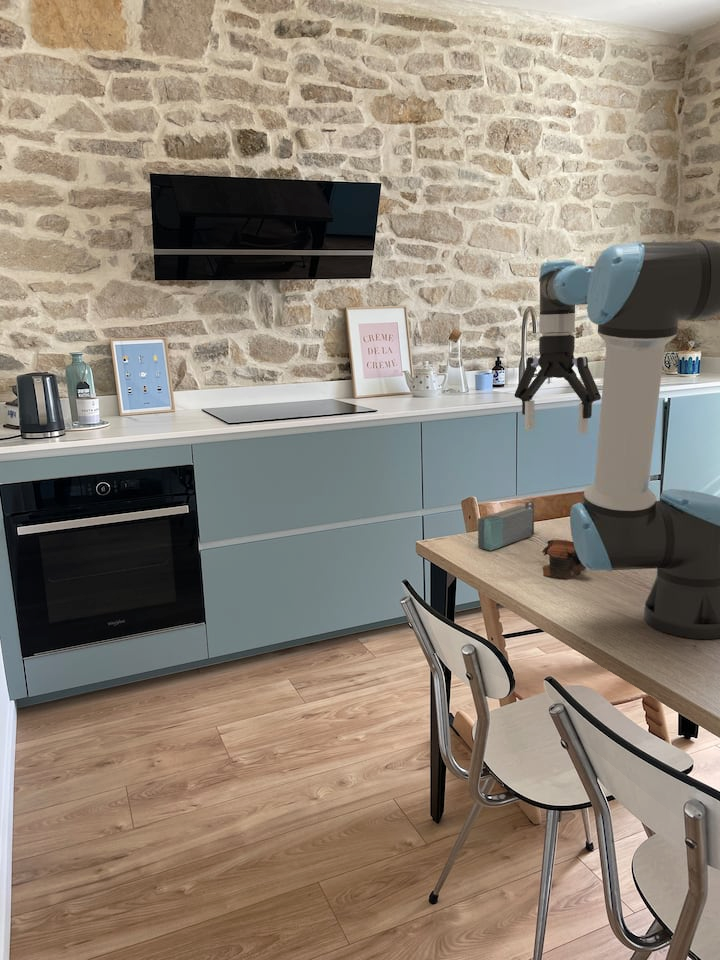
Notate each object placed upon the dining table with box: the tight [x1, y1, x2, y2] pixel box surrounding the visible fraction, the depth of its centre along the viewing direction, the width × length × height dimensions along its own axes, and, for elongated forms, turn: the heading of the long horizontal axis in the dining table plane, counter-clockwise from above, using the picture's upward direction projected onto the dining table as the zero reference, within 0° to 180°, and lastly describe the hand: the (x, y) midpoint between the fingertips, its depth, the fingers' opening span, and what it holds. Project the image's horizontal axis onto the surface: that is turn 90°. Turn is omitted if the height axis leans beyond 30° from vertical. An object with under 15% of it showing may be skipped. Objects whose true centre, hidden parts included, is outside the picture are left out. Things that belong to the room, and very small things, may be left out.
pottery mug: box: [541, 539, 587, 580], centre depth 157 cm, size 12×10×8 cm
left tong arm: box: [477, 505, 525, 550], centre depth 180 cm, size 16×2×7 cm, turn 132°
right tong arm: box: [483, 506, 533, 551], centre depth 178 cm, size 16×2×7 cm, turn 131°
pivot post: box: [524, 501, 535, 536], centre depth 185 cm, size 2×2×8 cm
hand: (555, 431), depth 166 cm, fingers open, 13 cm apart
